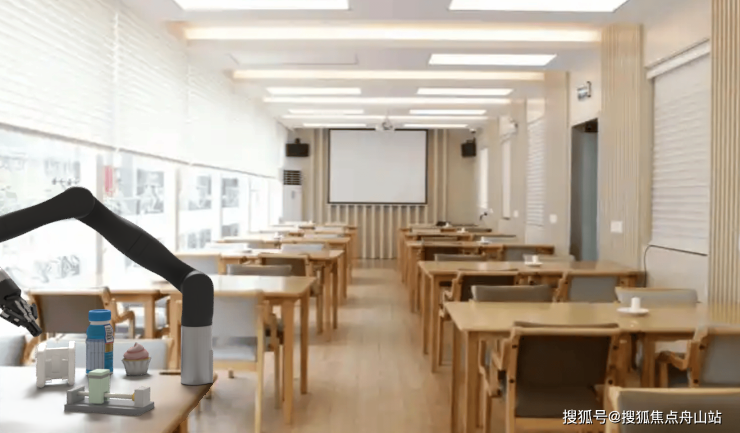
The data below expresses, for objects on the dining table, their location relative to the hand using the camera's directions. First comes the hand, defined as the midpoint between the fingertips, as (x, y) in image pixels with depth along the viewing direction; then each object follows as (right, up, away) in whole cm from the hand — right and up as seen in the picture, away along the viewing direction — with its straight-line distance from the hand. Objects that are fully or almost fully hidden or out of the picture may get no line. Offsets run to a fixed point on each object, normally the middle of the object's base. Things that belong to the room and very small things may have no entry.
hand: (38, 334), depth 200 cm
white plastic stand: (-5, -19, +24) cm, 31 cm away
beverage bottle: (+3, -18, +37) cm, 41 cm away
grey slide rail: (+21, -19, -4) cm, 28 cm away
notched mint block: (+17, -17, -4) cm, 25 cm away
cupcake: (+14, -19, +38) cm, 44 cm away
